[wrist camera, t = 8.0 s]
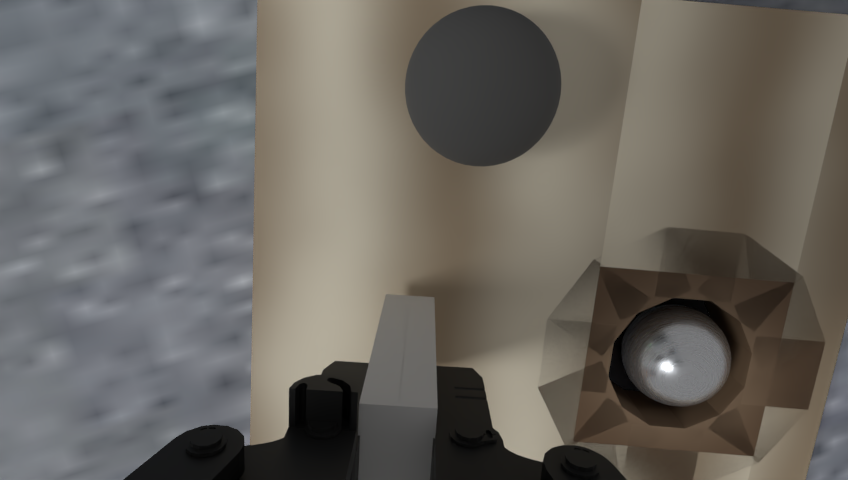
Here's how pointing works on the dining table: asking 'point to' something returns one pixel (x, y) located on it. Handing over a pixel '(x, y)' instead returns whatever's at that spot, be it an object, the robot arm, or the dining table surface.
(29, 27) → the dining table surface
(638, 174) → the board
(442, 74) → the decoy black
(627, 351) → the steel ball
